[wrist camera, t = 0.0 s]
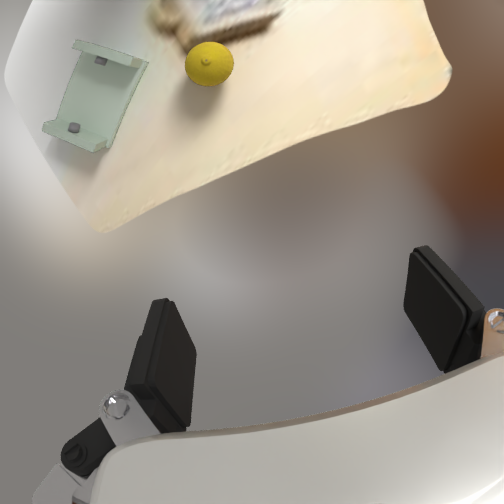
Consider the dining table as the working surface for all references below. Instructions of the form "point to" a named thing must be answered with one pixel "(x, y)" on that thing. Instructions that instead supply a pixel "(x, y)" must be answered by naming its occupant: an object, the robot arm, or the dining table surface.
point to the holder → (96, 97)
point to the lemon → (209, 64)
